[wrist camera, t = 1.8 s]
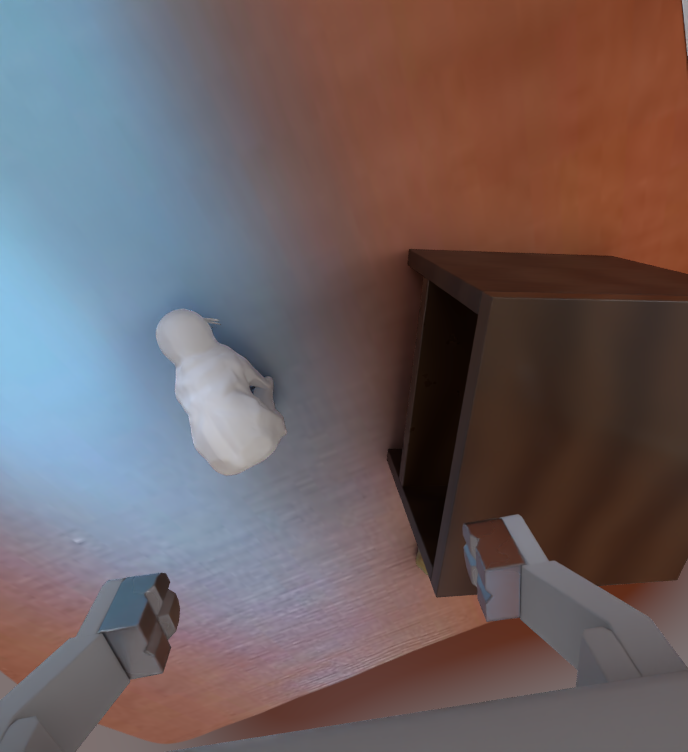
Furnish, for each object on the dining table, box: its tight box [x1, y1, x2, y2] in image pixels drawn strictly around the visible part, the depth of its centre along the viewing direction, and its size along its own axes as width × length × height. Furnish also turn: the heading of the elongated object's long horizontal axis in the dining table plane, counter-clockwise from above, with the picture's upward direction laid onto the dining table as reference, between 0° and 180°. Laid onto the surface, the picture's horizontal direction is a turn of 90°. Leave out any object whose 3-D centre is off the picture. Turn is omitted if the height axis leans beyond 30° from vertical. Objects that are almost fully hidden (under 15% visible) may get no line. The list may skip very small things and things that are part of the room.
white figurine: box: [156, 309, 287, 476], centre depth 32 cm, size 6×8×12 cm
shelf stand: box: [387, 249, 688, 597], centre depth 32 cm, size 17×19×15 cm
